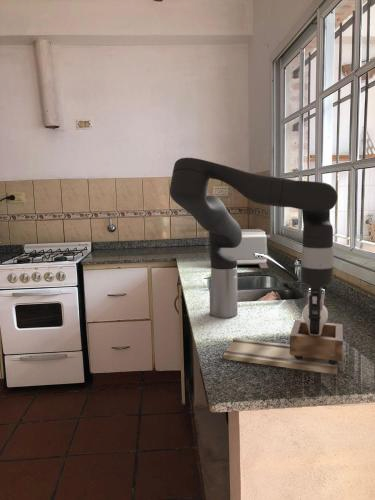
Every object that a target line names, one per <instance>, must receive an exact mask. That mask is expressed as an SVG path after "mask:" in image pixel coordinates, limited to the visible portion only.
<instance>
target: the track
mask: <svg viewBox="0 0 375 500" xmlns="http://www.w3.org/2000/svg"><path fill="white" fill-rule="evenodd" d="M223 360H229V361H236V362H244V363H252V364H257V365H258V364H260V365H264V366H265V365H266V366H272V367H281V368H285V369H286V368H288V369H292V370H293V369H294V370H302V371H308V372H316V373H322V374H323V373H324V374H329V375H330V374H331V375H335V376H337V375H338V362H339V361H337V363H336V364H330V363H329V360H328V359H320V358H312V357H304V356H303V358H302V359H301V360H297V359H296V358H295V356H294V355H290V343H289V344H288V343H287V344H286V343H279V342H271V341H270V342H269V341H262V340H254V339H246V338H237V337H236V338H235V337H234V338H233V339H232V341H231V343H230V344H229V346H228V347H227V349H225V351H224V353H223Z"/></svg>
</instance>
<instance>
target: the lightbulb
mask: <svg viewBox="0 0 375 500" xmlns="http://www.w3.org/2000/svg"><path fill="white" fill-rule="evenodd" d="M320 305H321V303H320ZM312 314H316V315H318V311H314V310H312ZM308 316H309V309H308V303H307V304H306V305H305V306H304V307H303V310H302V317H303V321H305V322H306V324H307V326H308V330H309V334H310V319H309V317H308ZM320 317H321V319H320V325H319V334H318V335H316V334H310V335H314V336H321V334H322V328H323V326H324V324H325V323H327V321H328V318H329V311H328V308H327V307H326V306H325V305H324V304H323V310H322V311H321V312H320Z"/></svg>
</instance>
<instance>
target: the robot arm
mask: <svg viewBox="0 0 375 500" xmlns="http://www.w3.org/2000/svg"><path fill="white" fill-rule="evenodd" d="M210 179H213V180H217V181H220V182H224V183H225V184H227V185H228V186H230V187H232V188H233V189H235V190H236V191H237V192H238V193H239V194H240V195H242V196H243V197H245V198H246V199H247V200H250V201H251V202H252V203H255V204H258V205H263V206H270V207H278V208H292V209H296V210H297V209H298V210H301V215H302V222H303V223H302V224H303V227H302V229H303V230H302V249H301V255H300V256H301V257H300V258H301V261H300V264H301V265H300V267H301V268H300V270H301V271H300V282H301V283H302V284H304V285H306V286H310V288H308V290H307V304H308V309H309V316H308V317H309V319H310V334H316V335H318V334H319V325H320V319H321V317H320V312H321V311H322V310H323V305H324V302H325V297H326V295H325V294H326V291H325V289H323V288H324V287H326V286H330V285H332V284H333V281H334V280H333V279H334V246H333V245H334V244H333V243H334V230H333V229H334V227H333V226H332V223H331V210H332V209H333V208H334V207H335V206H336V204H337V202H338V193H337V190H336V189H335V188H334V187H333V186H332V185H331V184H329V183H327V182H323V181H322V182H321V181H308V180H296V179H290V178H285V177H279V176H271V175H263V174H258V173H254V172H253V173H252V172H249V171H245V170H240V169H237V168H234V167H231V166H227V165H225V164H220V163H216V162H213V161H208V160H205V159H201V158H195V157H181V158H178V159H177V160H176V161H175V162H174V165H173V169H172V174H171V181H170V185H169V195H170V198H171V199H172V200H173V202H175V203H176V204H177V205H178V206H180V207H181V208H182V209H184V210H185V211H186V212H187V213H188V214H190V215H191V216H192V218H194V219H195V220H196V222H197V223H198V225H200V226H201V228H203V230H206V231H207V232H208V240H209V258H210V283H211V284H210V285H211V286H210V287H211V288H209V291H208V292H209V316H213V317H215V318H222V319H225V318H226V319H227V318H233V317H236V316H237V315H238V265H237V260H236V259H235V258H234V257H231V256H229V255H227V254H225V253H224V252H223V251H222V250H221V248H235V247H237V246H239V244H240V243H241V240H242V232H241V230H242V228H241V225H240V224H239V223H238V221H237V220H236V219H235V218H234V217H232V215H230V212H229V211H228V209H227V207H226V206H225V204H224V202H222V200H220V198H218V196H215V195H207V193H208V188H209V182H210ZM320 303H321V305H320ZM312 310H314V311H318V315H316V314H312Z"/></svg>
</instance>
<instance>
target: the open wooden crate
mask: <svg viewBox="0 0 375 500" xmlns="http://www.w3.org/2000/svg"><path fill="white" fill-rule="evenodd" d="M343 330H344V329H343V324H342V323H333V322H326V323H325V324H324V326H323V328H322V334H321V336H314V335H310V334H309V330H308V326H307V324H306V322H305V320H304V319H303V320H300V319H294V322H293V325H292V328H291V331H290V333H289V334H290V335H289V345H290V355H294V356H295V358H296V359H297V360H301V359H302V358H303V356H304V357H312V358H320V359H328V360H329V363H330V364H336V363H337V361H338V362H343V345H344V344H343V343H344V342H343V341H344V340H343V338H344V337H343V335H344V334H343ZM337 364H338V363H337Z"/></svg>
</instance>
